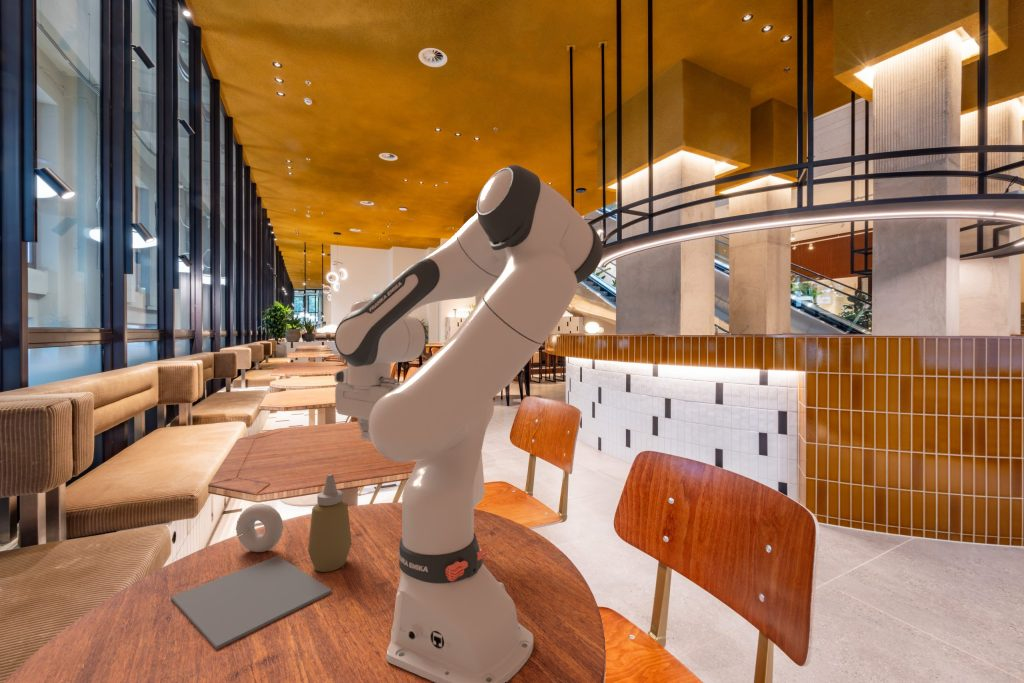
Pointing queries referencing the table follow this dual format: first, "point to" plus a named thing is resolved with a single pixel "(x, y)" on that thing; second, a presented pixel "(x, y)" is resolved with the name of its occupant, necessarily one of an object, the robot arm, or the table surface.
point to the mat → (248, 599)
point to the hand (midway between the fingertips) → (368, 439)
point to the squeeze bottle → (329, 529)
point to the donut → (250, 536)
